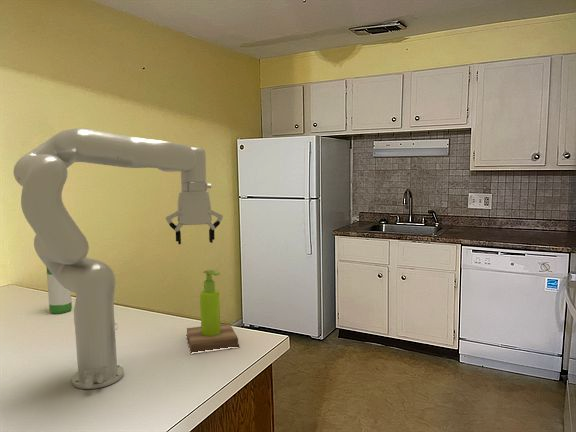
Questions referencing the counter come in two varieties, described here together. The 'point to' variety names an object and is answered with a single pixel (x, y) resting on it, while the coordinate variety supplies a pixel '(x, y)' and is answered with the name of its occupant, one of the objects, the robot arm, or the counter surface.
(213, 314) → the soap dispenser
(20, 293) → the counter surface
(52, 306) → the wine bottle
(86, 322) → the robot arm
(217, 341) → the plinth
